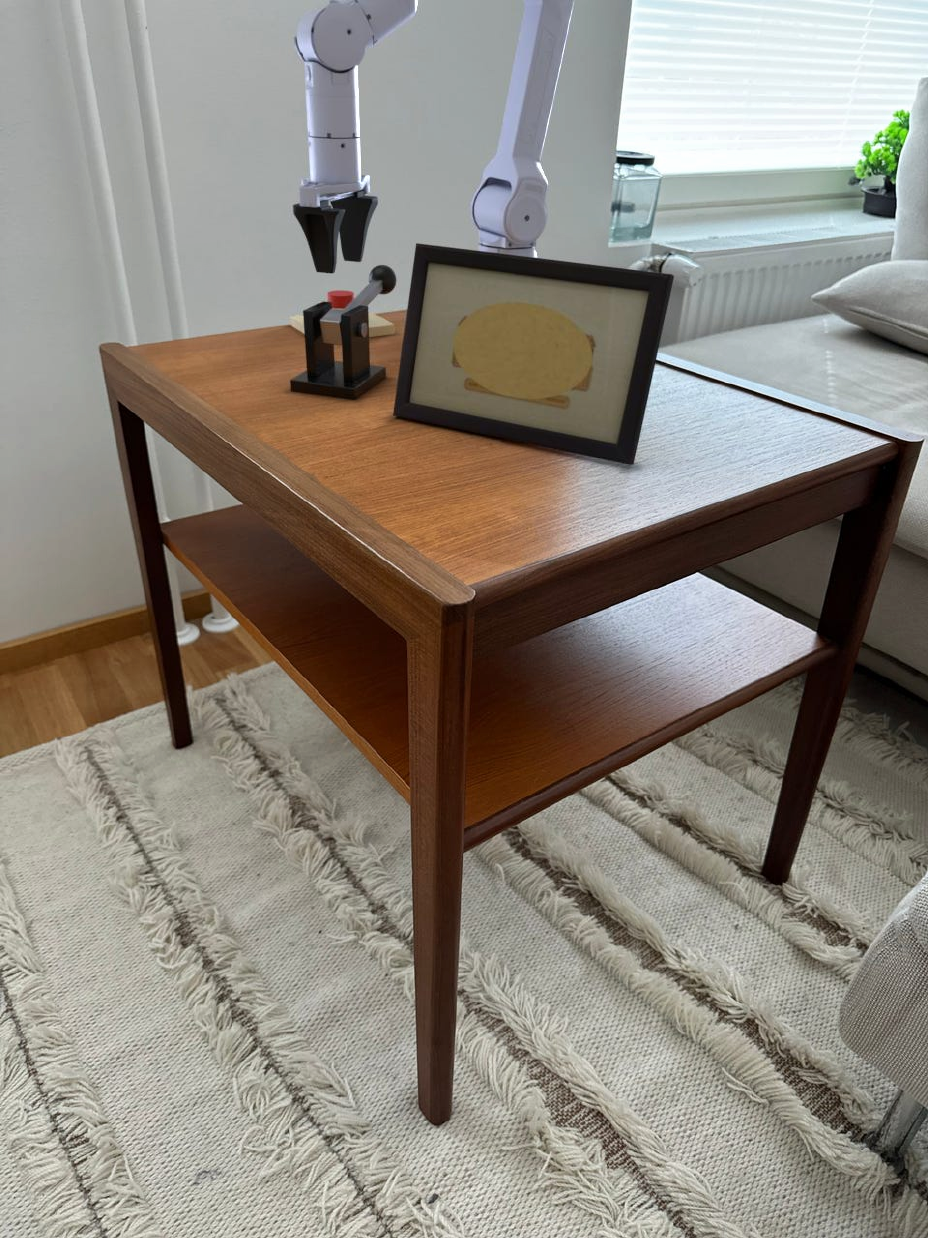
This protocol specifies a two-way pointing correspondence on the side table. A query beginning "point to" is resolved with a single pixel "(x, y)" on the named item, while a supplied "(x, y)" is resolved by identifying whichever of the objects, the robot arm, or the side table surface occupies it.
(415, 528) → the side table surface
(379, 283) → the lever
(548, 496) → the side table surface
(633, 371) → the picture frame
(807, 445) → the side table surface
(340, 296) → the button
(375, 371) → the bracket
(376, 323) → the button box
